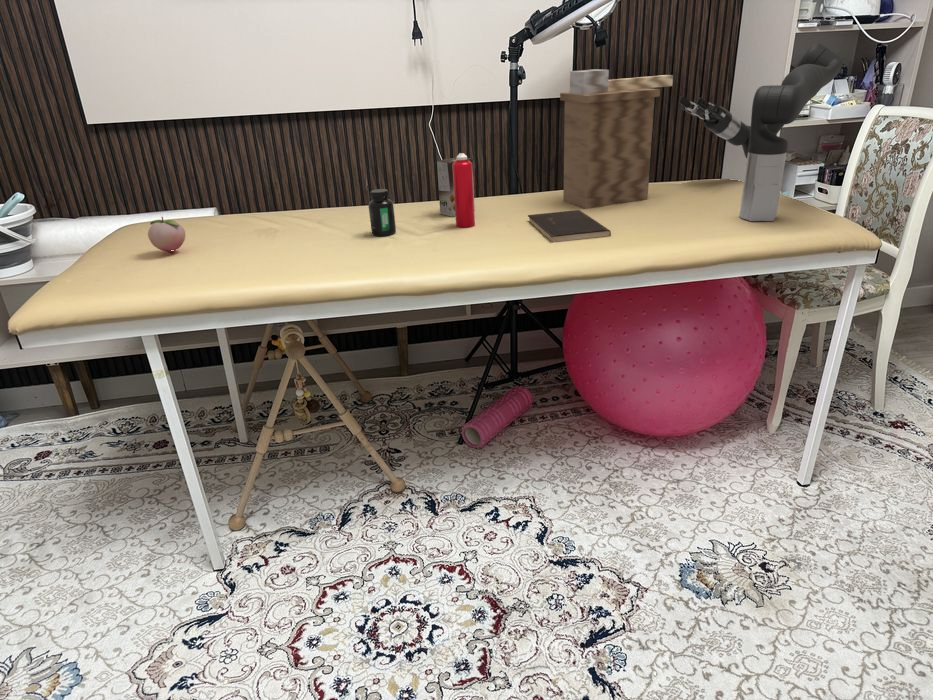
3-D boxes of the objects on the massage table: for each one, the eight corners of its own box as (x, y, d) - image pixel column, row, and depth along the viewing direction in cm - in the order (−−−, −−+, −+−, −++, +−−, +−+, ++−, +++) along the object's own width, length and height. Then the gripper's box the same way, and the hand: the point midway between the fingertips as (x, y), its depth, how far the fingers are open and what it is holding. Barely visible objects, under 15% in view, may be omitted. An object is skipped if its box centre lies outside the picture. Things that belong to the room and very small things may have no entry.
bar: (661, 85, 195) (662, 64, 193) (677, 86, 188) (679, 64, 186) (569, 93, 186) (570, 71, 183) (583, 94, 179) (584, 71, 176)
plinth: (623, 190, 210) (628, 87, 196) (652, 199, 196) (660, 89, 182) (559, 199, 203) (560, 93, 189) (584, 210, 189) (587, 95, 175)
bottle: (474, 222, 183) (470, 151, 175) (475, 227, 179) (472, 154, 170) (455, 223, 183) (451, 152, 175) (456, 228, 178) (452, 155, 170)
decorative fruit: (146, 258, 168) (135, 221, 164) (163, 249, 176) (153, 213, 171) (178, 257, 167) (168, 220, 162) (194, 248, 174) (185, 212, 170)
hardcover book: (551, 244, 161) (551, 235, 160) (527, 222, 182) (527, 215, 181) (610, 238, 164) (611, 229, 163) (580, 217, 184) (581, 209, 183)
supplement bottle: (392, 237, 174) (387, 193, 169) (368, 236, 175) (363, 193, 170) (399, 230, 180) (394, 187, 175) (376, 230, 181) (371, 188, 176)
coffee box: (452, 217, 190) (449, 162, 183) (439, 214, 195) (435, 160, 188) (475, 211, 195) (473, 158, 188) (462, 208, 200) (459, 156, 193)
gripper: (713, 110, 209) (680, 87, 201) (744, 113, 197) (710, 88, 189) (701, 132, 211) (668, 109, 203) (732, 136, 199) (697, 113, 191)
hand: (688, 99), depth 196 cm, fingers open, 8 cm apart
